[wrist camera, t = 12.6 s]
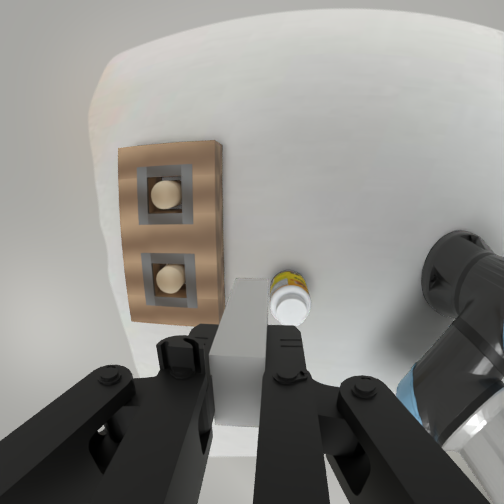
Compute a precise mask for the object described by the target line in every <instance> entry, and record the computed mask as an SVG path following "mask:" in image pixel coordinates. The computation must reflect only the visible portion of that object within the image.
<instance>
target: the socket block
mask: <svg viewBox="0 0 504 504" xmlns="http://www.w3.org/2000/svg"><path fill="white" fill-rule="evenodd" d="M175 176H181V184H182V209H160V208H158V207H156V206H155V205H154V203H153V202H152V199H151V191H152V189H153V187H154V186H155V185H156V184H157V183H158V182H161V181H162V177H175ZM118 183H119V208H120V225H121V238H122V250H123V260H124V270H125V278H126V286H127V294H128V301H129V308H130V315H131V321H133V322H144V323H155V324H167V325H180V326H195V327H196V326H197V325H199V324H200V323H201V324H220V321H221V319H222V316H223V313H224V310H225V291H224V255H223V197H222V145H221V144H220V143H218V142H217V141H215V140H210V141H191V142H176V143H163V144H152V145H142V146H133V147H125V148H118ZM166 264H185V279H186V284H183V285H182V286H181V288H180V289H179V290H178V291H177V292H175V293H166V292H163V291H162V290H161V289H160V288H159V287H158V285H157V281H156V277H157V274H158V272H159V271H160V270H161V269H163V268H164V267H165V266H166Z"/></svg>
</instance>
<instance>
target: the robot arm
mask: <svg viewBox="0 0 504 504" xmlns="http://www.w3.org/2000/svg"><path fill="white" fill-rule="evenodd" d="M268 288H269V279H256V278H236V279H235V282H234V285H233V288H232V291H231V293H230V296H229V299H228V302H227V305H226V307H225V310H224V313H223V316H222V319H221V321H220V324H201V323H200V324H199V325H197V326H196V327H194V328H193V329H192V330H191V331H190V333H189V335H188V336H186V335H181V336H172V337H168V338H165V339H163V340H161V341H160V342H159V343H158V344H157V345H156V347H157V353H158V359H159V365H160V371H159V373H158V375H157V376H155V377H149V378H134V379H133V376H132V373H131V372H130V370H129V369H127V368H126V367H124V366H120V365H106V366H103V367H100V368H98V369H96V370H94V371H93V372H91V373H90V374H89V375H87V376H86V377H85V378H84V379H82V380H81V381H79V382H78V383H77V384H75V385H74V386H73V387H71V388H70V389H69V390H67V391H66V392H65V393H63V394H62V395H61V396H60V397H58V398H57V399H55V400H54V401H53V402H51V403H50V404H49V405H47V406H46V407H45V408H43V409H42V410H41V411H40V412H38V413H37V414H36V415H34V416H33V417H32V418H30V419H29V420H28V421H26V422H25V423H24V424H22V425H21V426H20V427H18V428H17V429H16V430H14V431H13V432H12V433H10V434H9V435H8V436H7V437H5V438H4V439H2V440H1V441H0V504H197V503H198V499H199V494H200V490H201V486H202V481H203V477H204V472H205V468H206V464H207V459H208V455H209V451H210V446H211V442H212V438H213V433H212V422H213V417H214V418H215V425H226V426H241V427H259V434H258V447H257V460H256V473H255V484H254V497H253V504H330V500H329V492H328V484H327V476H326V469H325V461H324V454H326V457H327V460H328V462H329V464H330V465H331V468H332V469H333V472H334V473H335V476H336V478H337V480H338V481H339V484H340V486H341V488H342V490H343V491H344V493H345V495H346V497H347V499H348V501H349V503H350V504H490V503H489V501H488V500H487V499H486V498H485V497H484V496H483V494H482V493H481V492H480V491H479V490H478V489H477V488H476V487H475V485H474V484H473V483H472V482H471V481H470V480H469V478H468V477H467V476H466V475H465V474H464V473H463V472H462V470H461V469H460V468H459V467H458V466H457V465H456V463H454V461H453V460H452V459H451V458H450V457H449V456H448V454H447V453H446V452H445V451H455V452H458V453H459V454H460V455H461V457H462V458H463V460H464V461H465V462H466V464H467V465H468V467H469V468H470V470H471V471H472V473H473V474H474V476H475V477H476V478H477V480H478V481H479V483H480V484H481V486H482V487H483V489H484V490H485V492H486V493H487V495H488V496H489V498H490V500H491V501H492V503H493V504H504V383H503V382H502V381H501V380H502V378H503V376H504V257H501V256H499V255H496V254H495V253H494V252H493V251H492V250H491V249H490V247H489V246H488V245H487V244H486V243H485V242H484V240H483V239H481V238H480V237H479V236H477V235H475V234H472V233H470V232H466V231H455V232H451V233H449V234H447V235H445V236H444V237H443V238H441V239H440V240H439V241H438V242H437V243H436V244H435V245H434V247H433V248H432V249H431V251H430V253H429V254H428V256H427V259H426V261H425V264H424V267H423V272H422V290H423V294H424V297H425V299H426V301H427V302H428V304H429V305H430V306H431V307H432V308H433V309H434V310H436V311H437V312H438V313H440V314H441V315H444V316H447V317H452V318H456V319H455V321H454V322H453V323H452V324H451V325H450V327H449V328H448V329H447V330H446V331H445V333H444V334H443V335H442V336H441V337H440V338H439V339H438V341H437V342H436V343H435V344H434V345H433V346H432V347H431V348H430V349H429V351H428V352H427V353H426V354H425V355H424V356H423V357H422V358H421V359H420V360H419V361H418V362H417V363H415V364H414V365H413V366H412V368H411V370H410V371H409V373H408V374H407V375H406V376H405V377H404V378H403V379H402V380H401V381H400V383H399V384H398V387H397V393H396V396H395V395H394V393H393V392H392V391H391V390H390V389H389V388H388V387H387V386H386V385H385V384H384V383H383V382H382V381H380V380H379V379H376V378H374V377H370V376H363V375H362V376H353V377H350V378H348V379H346V380H344V381H343V382H342V383H341V385H340V387H334V386H328V385H324V384H321V383H319V382H316V381H315V380H313V379H312V376H311V375H310V373H309V371H307V370H306V363H305V357H304V351H303V344H302V338H301V332H300V331H299V330H298V329H297V328H296V327H295V326H294V325H268ZM102 425H104V427H105V429H104V430H103V431H101V432H99V433H98V431H97V430H98V429H100V428H101V427H102ZM323 453H324V454H323Z"/></svg>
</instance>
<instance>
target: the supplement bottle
mask: <svg viewBox="0 0 504 504" xmlns="http://www.w3.org/2000/svg"><path fill="white" fill-rule="evenodd" d="M310 309H311V299H310V296H309V292H308V289H307V286H306V283H305V280H304V279H303V277H302V276H301V275H300V274H299V273H297V272H294V271H289V270H288V271H282V272H280V273H278V274H277V275H276V276H275V277H274V278H273V280H272V282H271V285H270V310H271V313H272V315H273V316H274V318H275V319H276V320H278V321H279V322H280V323H281V324H283V325H294V326H298V325H299V324H301V323H302V322H303V321H304V320H305V318H306V317H307V316H308V314H309V312H310Z"/></svg>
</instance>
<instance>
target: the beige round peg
mask: <svg viewBox="0 0 504 504" xmlns="http://www.w3.org/2000/svg"><path fill="white" fill-rule="evenodd" d="M151 199H152V202H153V203H154V205H155V206H156V207H158V208H160V209H168V208H171V207H174V206H178V205H181V204H182V184H181V181H179V180H173V181H161V182H158V183H157V184H156V185H155V186H154V187H153V189H152V191H151Z"/></svg>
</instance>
